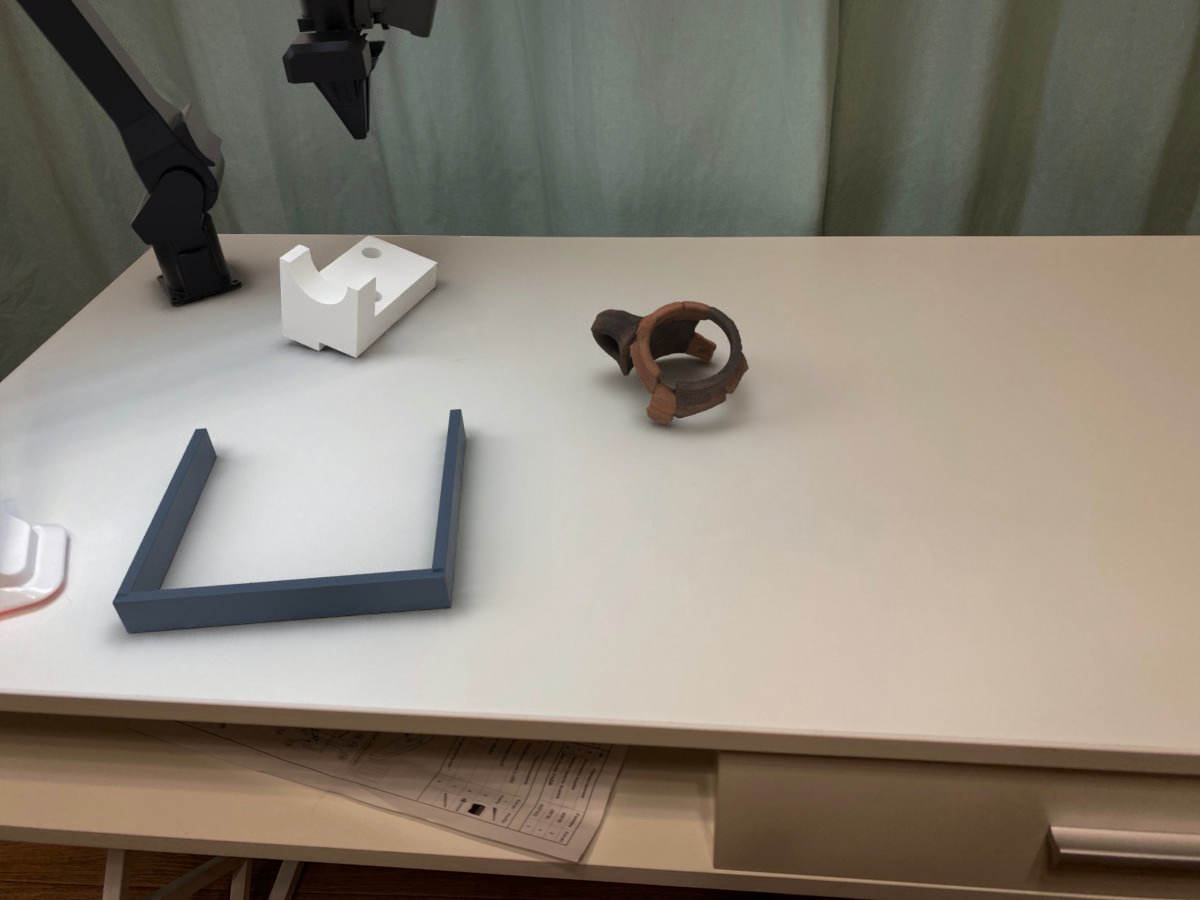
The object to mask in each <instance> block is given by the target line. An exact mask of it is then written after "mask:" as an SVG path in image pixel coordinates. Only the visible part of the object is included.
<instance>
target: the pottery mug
mask: <svg viewBox="0 0 1200 900" xmlns="http://www.w3.org/2000/svg"><path fill="white" fill-rule="evenodd" d="M701 321H711V322H712V323H713V324H715V325H717V326H718V328H720V329H721V330H722V331H723V333H724V334H725V336H726V338H727V341H728V343H729V357H728V360H727V362H726V364H725V365H724V366H723V367H722V368H721V369H720V370H719V371H718V372H717V373H715V374H713V375H711V376H709V377H706V378H702V379H699V380H697V379H696V380H685V379H680V378H674V386H675V388H673V387H671V386H670V385H667V384H665V383H664V382H663V381H662V380H661V376H662V372H663V370H662V369H661V367H660V366H659V365H658V364H657V362H656V360H658V359H660V358H663V357H668V356H671V355H674V354H685V355H689V356H691V357H693V358H696V359H700V360H701V361H703V362H705V363H707V364H709V363H711V362H712V359H713V357H714V353H715V351H716V350H717V347H718V346H717V343H716V342H714V341H713V340H710V339H708V338H706V337H704V335H702V334H701V333H699V332H697V331H696V328H697V326H698V325H699V324H700V322H701ZM590 332H591V334H592V337H593V339H594V341H595V343H596V344H597V345H598V346H599V347H600V348H601V349H602V351H604V353H605V354H607V355H608V356H610V357H611V358H612V359H613V360H614V361H615V362H616V363H617V365H618V366H619V369H620V372H621V374H622V375H623V377H628V376H630V373H631V371H632V370H633V369H635V372H636V373H637V376H638V378H639V380H640V382H641V383H642V385H643V387H644V388H645V389H646V390H647V391H648V392H649V393H650V394H651V395H652V396H651V399H650V401H649V402H650V403H649V405H648V406H647V408H646V409H645V411H646V415H647V417H648V418H649V419H650V420H653V421H655V422H657V423H658V424H661V425H664V426H665V425H667V424H669V423H670V422H672V421H673V418H674V417H675V418H676V419H684V418H687V417H691V416H695V415H697V414H700V413H703V412H705V411H706V412H707V411H709V410H710V409H713V408H716V407H717V406H719V405H721V404H723V403H724V402H726V400H727V394H733V393H734V392H735V391H736V389H737V388H738V386H739V384H740V382H741V380H742V378H743V377H744V375H745V374H746V372H748V371H749V369H750V367H749V365H748V361H747V358H746V356H745V354H744V353H743V344H742V338H741V334H740V331H739V329H738V327H737V324H736V323H735V322H734V320H733V319H732V318H730V317H729V316H728V315H727V314H726V313H725V312H724V311H722V310H721V309H718V308H717V307H715V306H710V305H708V304H705V303H703V302H699V301H692V300H690V301H689V300H684V301H683V300H682V301H673V302H670V303H667V304H664V305H662V306H660V307H658V308H657V309H655V310H654V311H653V312H651V313H650V314H648V315H645V316H641V315H636V314H633V313H632V312H631V313H630V312H628V311H626V310H624V309H614V308H609V309H605V310H602V311H601V312H599V313H598V314H596V316H595V319H594V320H593V323H592V325H591V326H590Z"/></svg>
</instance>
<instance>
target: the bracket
mask: <svg viewBox="0 0 1200 900" xmlns="http://www.w3.org/2000/svg"><path fill="white" fill-rule="evenodd" d="M310 250H311V249H310V248H309V247H307V246H304V245H302V244H298V245H296V246H295V247H294V248H292V249H290V250H289V251H288V252H286V253H285V254H283V255H282V256H280V257H279V279H280V307H281V330H282V336H283V337H285V338H288V339H290V340H291V341H295V342H297V343H299V344H301V345H303V346H307V347H308V348H310V349H313V350H314V351H315V350H316V351H318V352H320V351H321V350H322V349H323V348H324V347H326V346H327V347H329V348H332V349H334V350H337V351H339V352H341V353H344V354H346V355H348V356H350V357H353V358H355V359H357V358H358V357H359V356H360V355H361V354H363V352H365V351H366V350H367V349H368V348H369V347H370V346H371V345H373V343H375V342H376V341H377V340H378V339H379V338H380V337H381V336H382V335H383V334H385V333H386V332H387V331H388V330H389V329H390V328H391V327H393V326H394V325H395V324H396V323H397V322H398V321H399V320H400V319H401V318H402V317H404V316H405V315H407V313H408V312H409V311H410V310H411V309H412V308H414V306H416V305H417V304H418V303H420V301H421V300H422V299H423V298H425V296H427V295H428V294H429V293H430V292H431V291H433V289H435V288H436V282H437V270H438V262H437V261H434V260H432V259H429V258H427V257H424V256H422V255H419V254H417V253H415V252H412V251H410V250H408V249H405V248H402V247H400V246H397V245H395V244H393V243H390V242H387V241H385V240H383V239H380V238H377V237H375V236H372V235H370V234H368V235H367V236H365V237H364V238H363V239H362V240H361V241H358V242H357V243H356V244H354V245H353V246H352V247H351V248H349V249H348V250H347V251H345V252H344V253H343V254H341V255H340V256H339V257H337V258H335V260H333V261H332V262H331V263H329V264H328V265H326V266H325V267H324V268H323V269H321V270H320V271H318V269H317V267H316V266H315V264H314V262H313V258H312V256H311V252H310Z"/></svg>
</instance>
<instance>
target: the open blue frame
mask: <svg viewBox="0 0 1200 900" xmlns="http://www.w3.org/2000/svg"><path fill="white" fill-rule="evenodd" d="M210 437H211V436H210V433H209V431H208V429H207V428H206V427H204V428H203V427H202V428H195V429H194V431H193V434H192V436H191V437H190V439H189V442H188V444H187V446H186V448H185V450H184V453H183V454H182V456H181V459H180V460H179V463H178V465H177V466H176V469H175V471H174V473H173V475H172V477H171V480H170V482H169V484H168V485H167V487H166V490H165V492H164V494H163V496H162V498H161V500H160V501H159V504H158V506H157V509H156V511H155V513H154V515H153V517H152V519H151V522H150V523H149V525H148V527H147V530H146V532H145V533H144V536H143V538H142V539H141V542H140V543H139V546H138V548H137V550H136V552H135V554H134V556H133V559H132V561H131V562H130V565H129V567H128V568H127V571H126V573H125V575H124V578H123V579H122V581H121V583H120V586H119V587H118V590H117V592H116V594H115V596H114V598H113V600H112V602H111V603H112V607H113V608H114V610H115V612H116V614H117V615H118V617H119V619H120V621H121V623H122V626H123V627H124V629H125V631H126V633H128V634H129V633H141V632H142V633H143V632H154V631H156V632H157V631H167V630H168V631H169V630H180V629H182V630H183V629H193V628H205V627H207V628H208V627H218V626H230V625H242V624H255V623H268V622H281V621H294V620H306V619H318V618H331V617H344V616H345V617H346V616H357V615H368V614H380V613H382V614H383V613H395V612H406V611H407V612H408V611H419V610H433V609H444V608H445V609H446V608H451V607H452V600H453V599H452V597H453V588H454V576H455V575H454V574H455V566H456V565H455V564H456V554H457V542H458V530H459V518H460V507H461V497H462V484H463V472H464V462H465V451H466V450H465V449H466V438H467V436H466V429H465V424H464V418H463V412H462V408H455V409H454V408H453V409H450V410H449V417H448V424H447V434H446V441H445V442H446V443H445V452H444V458H443V459H444V460H443V468H442V477H441V486H440V495H439V501H438V502H439V504H438V513H437V520H436V521H437V523H436V531H435V539H434V546H433V556H432V563H431V564H432V565H431V568H420V569H409V570H407V569H406V570H395V571H383V572H369V573H358V574H357V573H356V574H343V575H332V576H330V575H329V576H320V577H306V578H296V579H295V578H294V579H281V580H279V579H278V580H271V581H270V580H267V581H256V582H255V581H254V582H243V583H229V584H228V583H227V584H218V585H217V584H216V585H205V586H192V587H191V586H190V587H180V588H179V587H178V588H166V589H160V588H161V586H162V583H163V581H164V579H165V576H166V574H167V572H168V570H169V567H170V565H171V563H172V560H173V558H174V556H175V553H176V551H177V549H178V547H179V544H180V543H181V539H182V537H183V535H184V533H185V531H186V528H187V525H188V523H189V521H190V518H191V516H192V514H193V512H194V510H195V507H196V505H197V502H198V500H199V498H200V496H201V494H202V491H203V489H204V486H205V484H206V482H207V479H208V478H209V475H210V473H211V470H212V468H213V466H214V463H215V460H216V458H217V456H218V455H217V453H216V450H215V448H214V445H213V442H212V439H211V438H210Z"/></svg>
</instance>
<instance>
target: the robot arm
mask: <svg viewBox="0 0 1200 900" xmlns="http://www.w3.org/2000/svg"><path fill="white" fill-rule="evenodd" d="M14 1H15V2H16V3H17V4H18V6H19V7H20V8H21V10H22V11H23V12H24V13H25V15H26V16H27V17H28V18H29V20H30V21H31V22H32V23H33V24H34V26H35V27H36V29H38V31H39V32H40V33H41V34H42V36H43V37H44V38H45V39H46V41H47V42H48V43H49V44H50V46H51V47H52V48H53V49H54V51H55V52H56V53H57V54H58V55H59V57H60V58H61V59H62V61H63V62H64V63H65V65H66V66H67V67H68V68H69V69H70V71H71V72H72V73H73V74H74V76H75V77H76V78H77V79H78V80H79V82H80V83H81V84H82V85H83V87H84V88H85V90H87V92H88V93H89V94H90V96H91V97H92V98H93V99H94V101H95V102H96V103H97V104H98V105H99V107H100V108H101V109H102V110H103V112H104V113H105V114H106V115H107V117H108V118H109V120H110V121H111V122H112V123H113V124H114V126H115V127H116V129H117V131H118V133H119V136H120V138H121V141H122V143H123V146H124V149H125V151H126V154H127V156H128V159H129V161H130V164H131V165H132V169H133V170H134V171H135V173H136V175H137V176H138V178H139V180H140V181H141V183H142V185H143V187H144V188H145V191H144V192H143V195H142V198H141V200H140V202H139V205H138V207H137V210H136V212H135V214H134V217H133V219H132V221H131V223H130V224H131V225H130V227H131V229H132V230H133V231H134V233H136V235H137V236H138V237H139V238H140V240H141V241H142V242H143V243H144V244H145V245H146V246H151V247H152V249H153V252H154V255H155V258H156V261H157V263H158V266H159V269H160V271H161V274H159V275H157V276H156V280H157V283H158V285H159V287H160V288H161V290H162V292H163V293H164V295H165V297H166V299H167V300H168V302H169V303H170V305H171V306H178V305H182V304H185V303H189V302H192V301H195V300H198V299H199V300H200V299H203V298H205V297H210V296H212V295H216V294H219V293H223V292H227V291H230V290H234V289H237V288H240V287H241V286H242V285H243V283H242V280H241V278H240V277H239V276H238V274H237V273H236V272H235V270H234V269H233V268H232V266H231V265H230V264H229V263H228V261H227V259H226V258H225V253H224V251H223V248H222V245H221V242H220V238H219V235H218V232H217V229H216V225H215V222H214V219H213V216H212V214H211V213H209V211H210V210H212V209H213V208H214V206H215V204H216V202H217V201H218V198H219V195H220V190H221V186H222V182H223V179H224V173H225V167H226V165H225V164H226V161H225V158H224V155H223V152H222V150H221V147H222V142H223V139H222V138H221V137H220V136H218V135H217V134H216V133H214V132H213V131H212V130H211V128H209V127H208V125H207V124H206V122H205V120H204V119H203V117H202V114H201V112H200V111H199V109H198V107H197V105H195V103H194V102H189V103H188V104H187V105H186V106H185V107H183V108H182V109H181V110H180V109H178V108H177V107H176V106H174V105H173V104H172V103H171V102H169V101H168V100H166V99H165V98H164V97H163V96H161V95H160V94H159V92H157V91H156V90H155V88H154V86H153V85H152V84H151V83H150V81H149V80H148V78H147V76H145V74H144V73H143V72H142V71H141V69H140V68H139V67H138V65H137V64H136V62H134V59H132V57H131V56H130V55H129V53H128V52H127V51H126V49H125V48H124V47H123V45H122V44H121V43H120V42H119V40H118V38H117V37H116V36H115V35H114V34H113V32H112V31H111V29H110V28H109V27H108V25H107V24H106V23H105V21H104V20H103V18H102V17H101V16H100V15H99V14H98V12H97V11H96V9H95V8H94V6H93V5H92V4H91V3H90V2H89V0H14ZM298 3H299V8H300V11H301V12H300V13H301V14H300V15H299V16H298V17H297V18H296V21H297V26H298V30H299V33H298V35H297V36H296V37H295V38H294V40H293V41H292V43H290V45H289V47H288V48H287V49H286V51H285V53H284V54H283V55H282V57H281V59H282V64H283V68H284V72H285V76H286V81H287V83H289V84H293V85H298V84H299V85H300V84H312V83H313V84H314V86H315V87H316V89H317V90H318V91H319V92H320V94H321V95H322V96H323V98H324V99H325V100H326V102H327V103H328V104H329V106H330V107H331V108H332V110H333V111H334V113H335V114H336V116H337V117H338V118H339V120H340V121H341V123H342V124H343V125H344V127H345V128H346V130H347V131H348V132H349V134H350V135H351V137H352V138H353V140H356V141H360V140H361V141H362V140H366V139H367V137H368V133H369V132H370V124H371V122H370V120H371V119H370V118H371V89H372V88H371V87H372V86H371V85H372V72H373V71H374V69H375V68H376V66H377V64H378V61H379V59H380V56H381V54H382V53H383V51H384V48H385V46H386V44H387V41H386V40H382V39H381V40H380V39H379V40H370V37H369V33H368V32H365V31H366V30H373V29H374V28H375V27H374V26H375V25H379V24H380V26H381V28H382V31H388V30H390V29H391V28H392V27H393V28H397V29H400V30H404V31H407V32H409V33H410V35H412V36H415V37H418V38H425V39H427V38H429V37H430V36H431V33H432V30H433V25H434V21H435V15H436V10H437V6H438V0H298Z"/></svg>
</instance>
